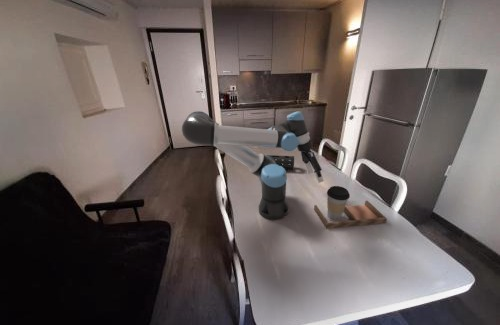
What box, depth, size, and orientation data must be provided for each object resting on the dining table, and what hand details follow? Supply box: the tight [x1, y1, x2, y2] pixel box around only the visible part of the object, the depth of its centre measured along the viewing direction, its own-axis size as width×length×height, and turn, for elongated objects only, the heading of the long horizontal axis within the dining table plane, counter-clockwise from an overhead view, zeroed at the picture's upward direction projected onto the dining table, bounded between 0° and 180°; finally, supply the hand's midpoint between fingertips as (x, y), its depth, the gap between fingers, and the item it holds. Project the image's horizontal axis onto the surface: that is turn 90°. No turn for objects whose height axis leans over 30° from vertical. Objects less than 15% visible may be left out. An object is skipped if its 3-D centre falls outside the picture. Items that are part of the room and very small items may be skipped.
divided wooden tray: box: [313, 200, 388, 230], centre depth 95 cm, size 28×14×2 cm, turn 95°
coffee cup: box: [326, 185, 351, 222], centre depth 92 cm, size 9×9×15 cm
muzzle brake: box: [265, 154, 295, 170], centre depth 143 cm, size 10×28×10 cm, turn 78°
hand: (315, 177), depth 107 cm, fingers open, 13 cm apart
